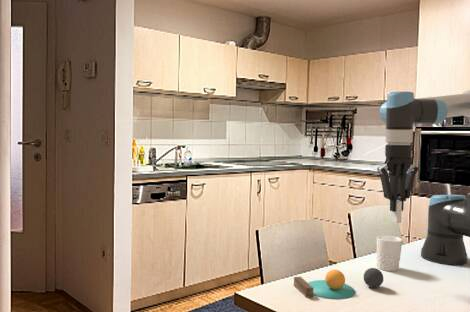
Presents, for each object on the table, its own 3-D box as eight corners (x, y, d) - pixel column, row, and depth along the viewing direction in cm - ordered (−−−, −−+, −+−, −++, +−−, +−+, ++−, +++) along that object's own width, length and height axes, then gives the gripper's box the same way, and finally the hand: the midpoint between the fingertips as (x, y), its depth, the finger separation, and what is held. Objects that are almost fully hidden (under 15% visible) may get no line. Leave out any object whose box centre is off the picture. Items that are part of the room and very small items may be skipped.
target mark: (340, 279, 136) (340, 279, 136) (364, 297, 123) (364, 296, 123) (297, 282, 133) (297, 281, 133) (316, 300, 120) (316, 299, 120)
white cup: (402, 273, 145) (403, 242, 144) (376, 270, 146) (378, 240, 146) (398, 265, 152) (400, 236, 152) (373, 263, 154) (375, 234, 153)
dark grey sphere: (362, 263, 133) (357, 281, 133) (373, 270, 127) (368, 288, 128) (378, 267, 134) (373, 284, 134) (389, 273, 129) (384, 292, 129)
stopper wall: (300, 285, 131) (300, 276, 130) (312, 296, 122) (313, 287, 122) (293, 285, 130) (294, 277, 130) (306, 297, 121) (306, 288, 121)
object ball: (332, 263, 131) (318, 276, 130) (340, 269, 125) (326, 283, 125) (343, 276, 132) (329, 289, 131) (352, 282, 126) (338, 296, 126)
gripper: (409, 143, 141) (406, 218, 143) (372, 143, 137) (370, 220, 139) (425, 144, 133) (422, 223, 135) (387, 144, 130) (384, 226, 132)
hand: (396, 221), depth 137 cm, fingers closed
